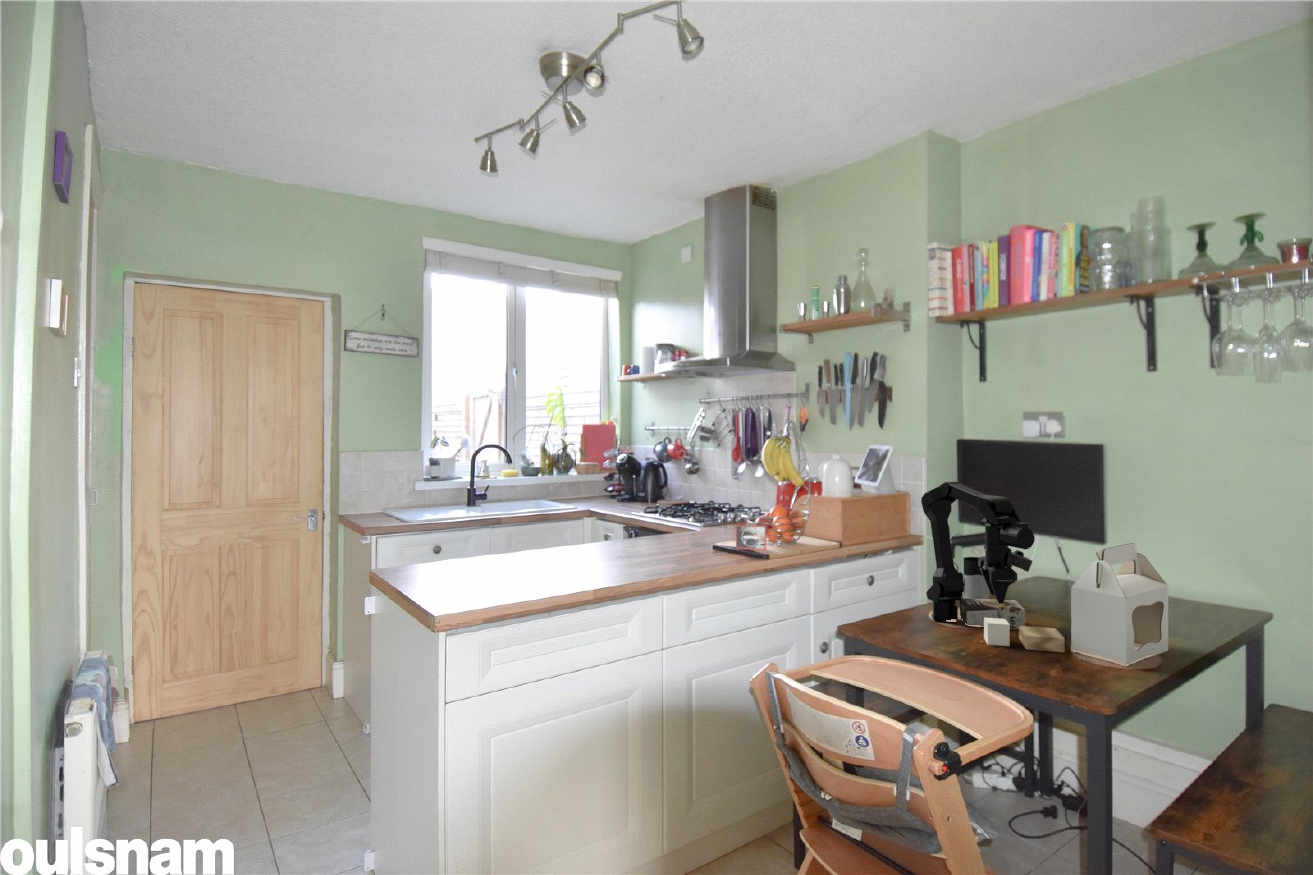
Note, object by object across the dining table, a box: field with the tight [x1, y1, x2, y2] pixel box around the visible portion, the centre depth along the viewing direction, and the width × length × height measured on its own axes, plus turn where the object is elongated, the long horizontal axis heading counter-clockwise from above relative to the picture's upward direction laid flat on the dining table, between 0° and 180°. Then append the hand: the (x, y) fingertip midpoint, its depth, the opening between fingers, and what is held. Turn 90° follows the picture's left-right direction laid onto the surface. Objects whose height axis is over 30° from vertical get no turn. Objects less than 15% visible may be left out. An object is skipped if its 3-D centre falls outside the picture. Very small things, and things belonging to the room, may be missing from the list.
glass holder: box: [953, 556, 990, 599], centre depth 224 cm, size 9×14×15 cm, turn 67°
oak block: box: [1018, 625, 1066, 653], centre depth 182 cm, size 9×9×4 cm
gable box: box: [1070, 542, 1169, 665], centre depth 176 cm, size 22×13×28 cm, turn 120°
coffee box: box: [959, 597, 1026, 630], centre depth 201 cm, size 9×6×16 cm
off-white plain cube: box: [983, 618, 1011, 647], centre depth 185 cm, size 5×5×6 cm
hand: (997, 599), depth 185 cm, fingers open, 9 cm apart
